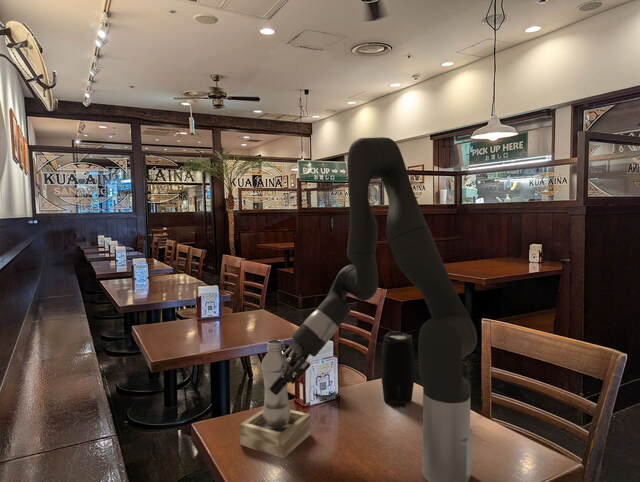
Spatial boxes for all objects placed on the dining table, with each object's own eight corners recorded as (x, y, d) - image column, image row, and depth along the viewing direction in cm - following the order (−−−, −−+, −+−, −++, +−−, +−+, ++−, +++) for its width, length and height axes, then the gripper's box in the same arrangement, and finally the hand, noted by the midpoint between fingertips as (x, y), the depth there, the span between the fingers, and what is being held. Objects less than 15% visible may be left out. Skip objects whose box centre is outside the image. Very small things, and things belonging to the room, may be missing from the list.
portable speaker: (386, 393, 131) (387, 329, 130) (417, 399, 126) (418, 333, 125) (377, 404, 123) (377, 336, 122) (409, 411, 119) (410, 340, 118)
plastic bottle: (286, 432, 100) (285, 346, 99) (258, 429, 101) (257, 345, 100) (294, 419, 106) (292, 338, 105) (267, 417, 107) (265, 337, 106)
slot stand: (310, 434, 106) (310, 414, 106) (283, 458, 96) (283, 436, 95) (269, 423, 112) (269, 404, 112) (240, 445, 101) (240, 424, 101)
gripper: (295, 316, 112) (250, 368, 108) (315, 329, 98) (265, 389, 95) (315, 334, 114) (271, 385, 110) (337, 349, 101) (289, 408, 97)
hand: (269, 387), depth 103 cm, fingers closed on plastic bottle, 6 cm apart
